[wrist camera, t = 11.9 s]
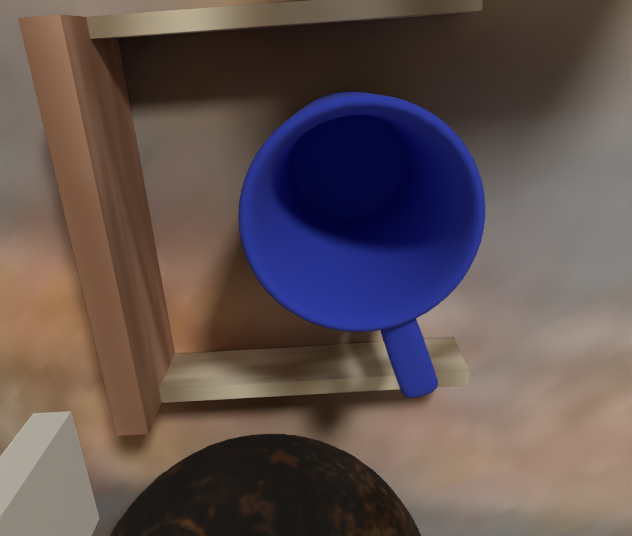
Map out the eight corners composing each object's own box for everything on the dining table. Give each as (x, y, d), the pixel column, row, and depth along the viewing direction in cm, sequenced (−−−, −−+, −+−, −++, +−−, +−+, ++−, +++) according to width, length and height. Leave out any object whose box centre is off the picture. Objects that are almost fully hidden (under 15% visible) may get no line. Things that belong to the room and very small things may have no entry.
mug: (322, 324, 32) (325, 443, 23) (237, 110, 28) (197, 149, 18) (469, 277, 31) (535, 381, 22) (403, 47, 27) (450, 54, 17)
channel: (461, -7, 26) (502, -19, 20) (453, 350, 32) (482, 415, 27) (81, 21, 26) (18, 17, 21) (150, 368, 33) (116, 435, 27)
